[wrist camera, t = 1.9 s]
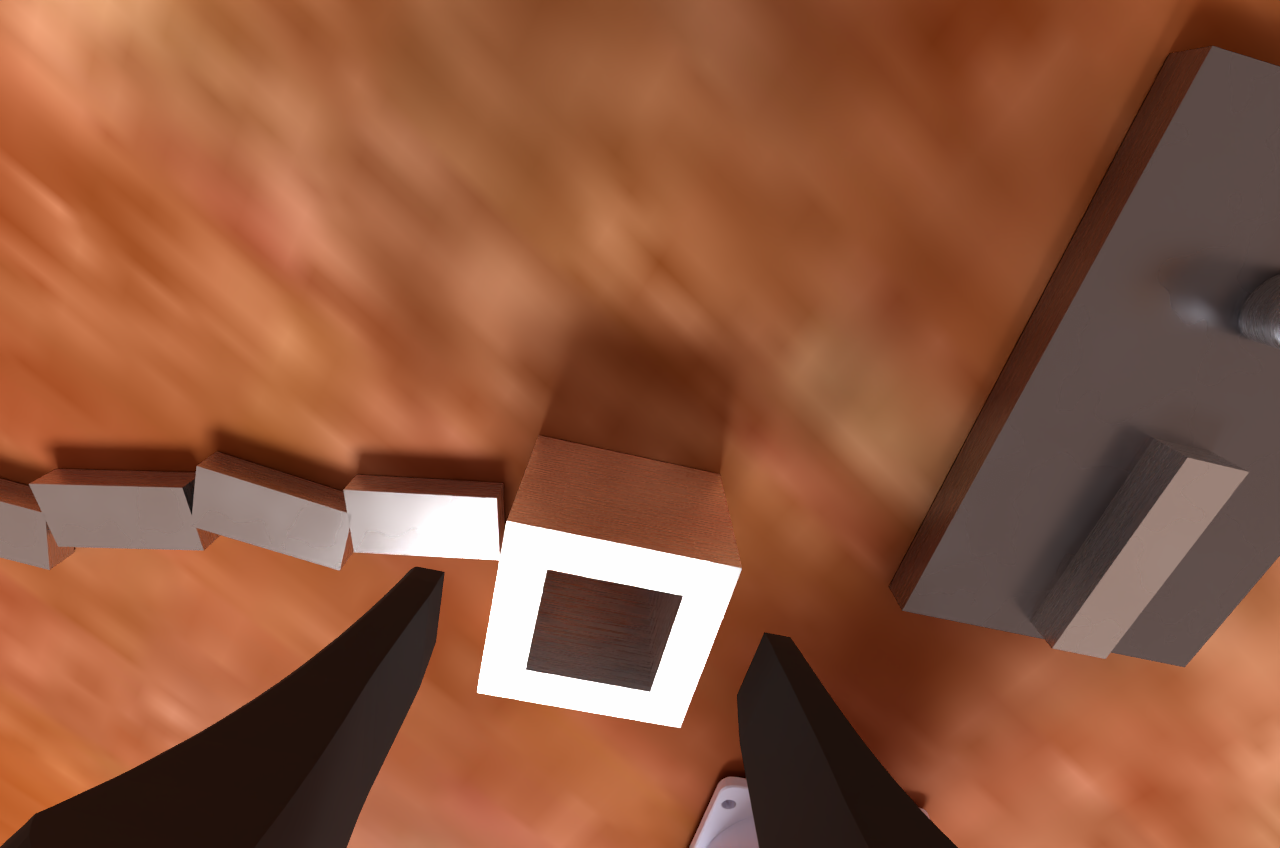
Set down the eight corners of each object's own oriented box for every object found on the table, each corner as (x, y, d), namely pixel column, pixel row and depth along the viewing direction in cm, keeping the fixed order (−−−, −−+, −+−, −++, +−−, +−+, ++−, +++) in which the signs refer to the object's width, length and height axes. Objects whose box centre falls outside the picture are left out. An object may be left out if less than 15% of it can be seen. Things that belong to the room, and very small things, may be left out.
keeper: (1158, 642, 19) (1282, 761, 15) (888, 587, 18) (951, 699, 14) (1541, 166, 13) (1894, 173, 9) (1169, 53, 12) (1396, 11, 8)
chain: (511, 554, 17) (505, 572, 17) (-53, 551, 17) (-84, 569, 17) (500, 451, 16) (493, 466, 15) (-114, 449, 16) (-151, 464, 15)
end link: (672, 612, 18) (680, 727, 15) (511, 581, 18) (476, 692, 14) (720, 474, 16) (741, 568, 13) (538, 435, 16) (506, 520, 12)
